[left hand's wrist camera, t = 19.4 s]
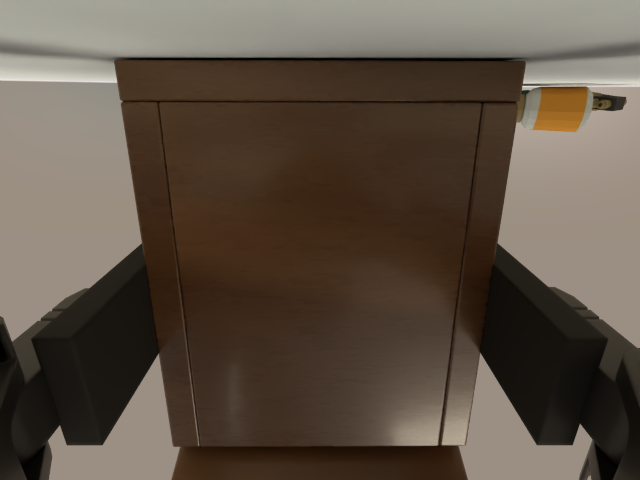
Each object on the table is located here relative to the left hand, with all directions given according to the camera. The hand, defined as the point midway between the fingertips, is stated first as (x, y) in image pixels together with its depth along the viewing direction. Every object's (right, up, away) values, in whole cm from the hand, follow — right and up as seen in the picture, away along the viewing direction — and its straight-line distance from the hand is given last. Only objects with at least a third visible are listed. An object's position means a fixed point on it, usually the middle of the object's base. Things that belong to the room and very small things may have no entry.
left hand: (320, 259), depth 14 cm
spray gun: (+25, +18, +29) cm, 42 cm away
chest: (0, +7, +3) cm, 8 cm away
